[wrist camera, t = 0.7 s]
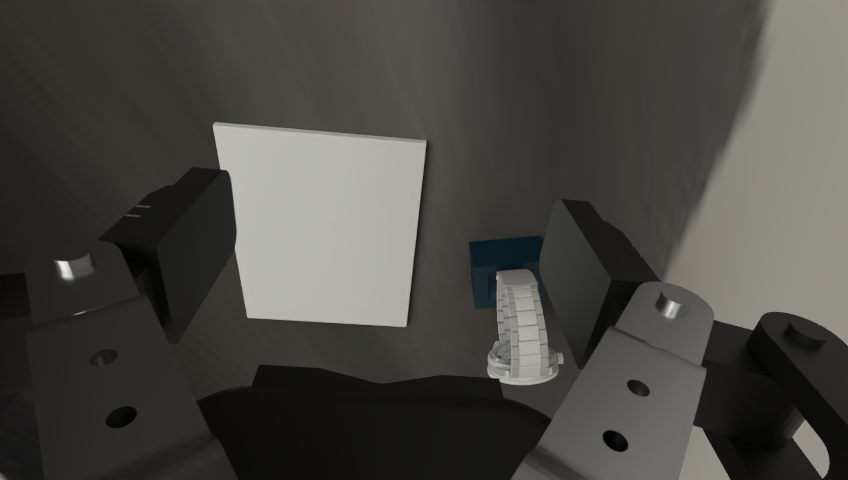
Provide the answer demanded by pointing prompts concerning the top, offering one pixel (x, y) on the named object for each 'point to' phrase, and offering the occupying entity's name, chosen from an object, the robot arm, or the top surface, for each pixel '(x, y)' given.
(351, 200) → the mat
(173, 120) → the top surface
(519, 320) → the watch
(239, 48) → the top surface
